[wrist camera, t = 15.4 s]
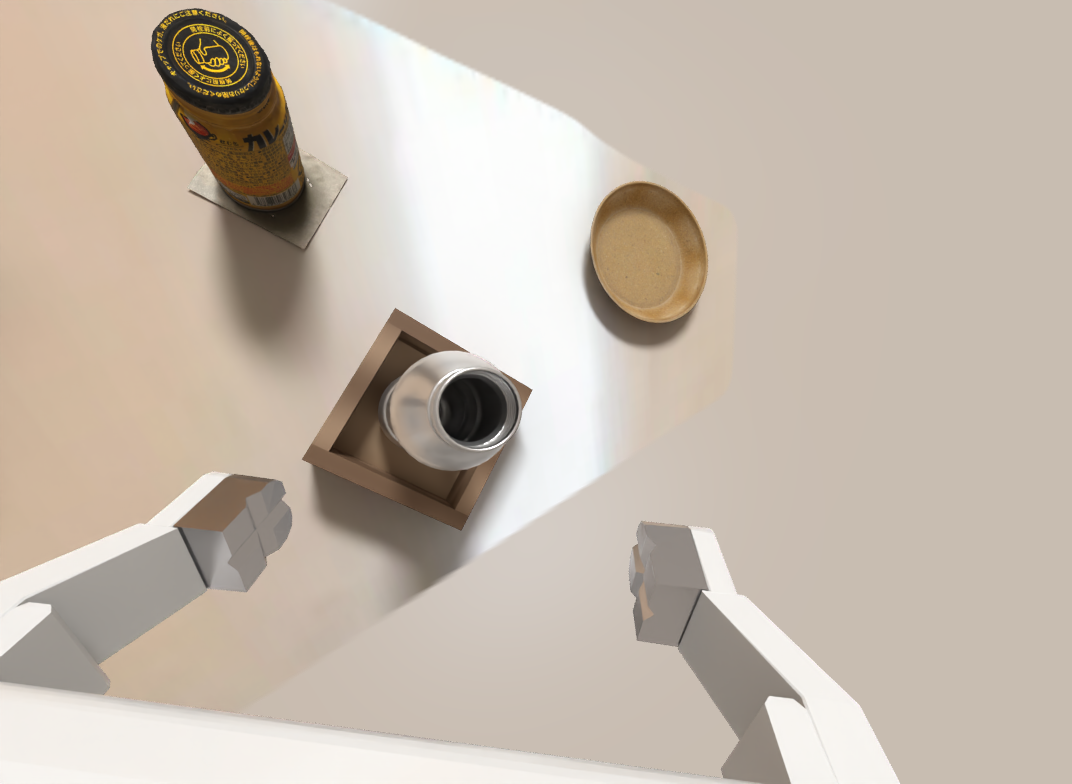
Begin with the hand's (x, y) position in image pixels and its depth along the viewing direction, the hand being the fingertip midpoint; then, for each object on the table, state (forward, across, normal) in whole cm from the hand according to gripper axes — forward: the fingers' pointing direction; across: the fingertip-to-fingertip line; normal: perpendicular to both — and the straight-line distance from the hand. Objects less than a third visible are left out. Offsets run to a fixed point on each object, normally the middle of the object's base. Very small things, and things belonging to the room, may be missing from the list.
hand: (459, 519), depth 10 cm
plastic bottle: (+23, +9, +12) cm, 28 cm away
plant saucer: (+42, -10, +2) cm, 43 cm away
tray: (+23, +9, +13) cm, 28 cm away
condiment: (+29, +22, -4) cm, 36 cm away
